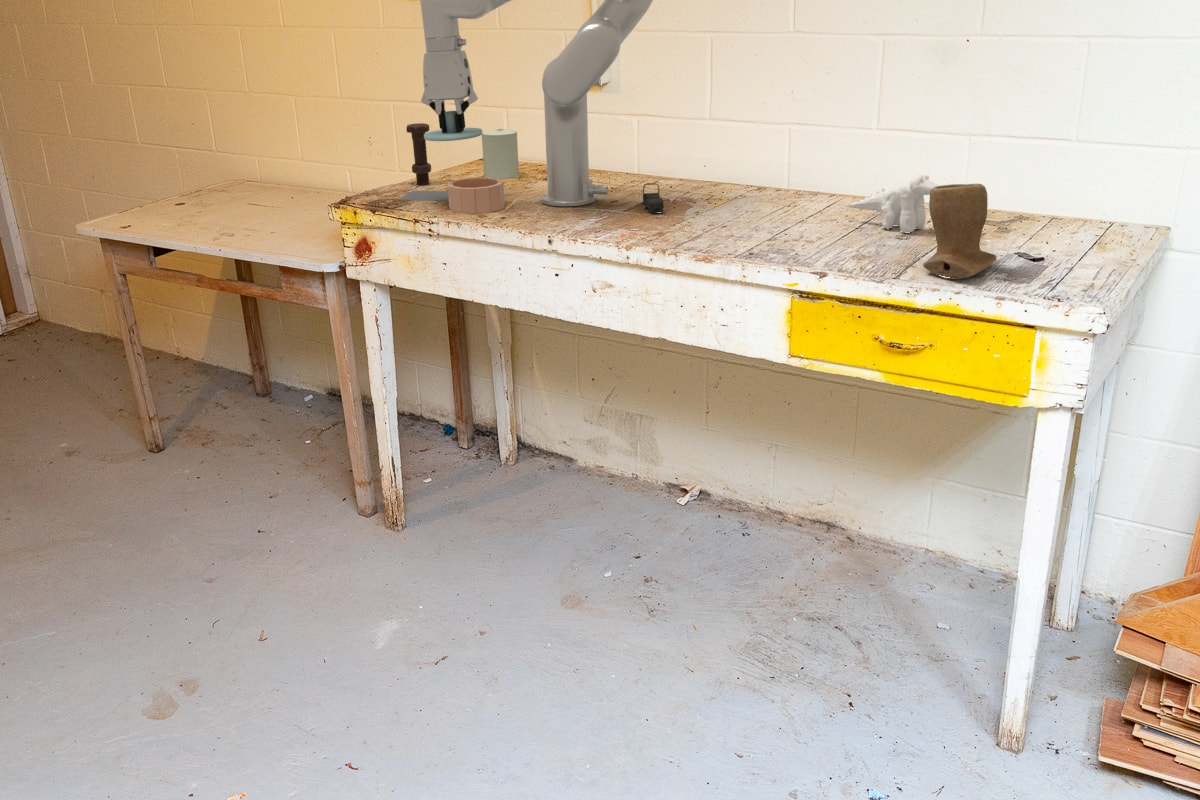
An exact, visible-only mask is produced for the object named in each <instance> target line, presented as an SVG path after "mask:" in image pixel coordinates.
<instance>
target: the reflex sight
mask: <svg viewBox="0 0 1200 800" xmlns="http://www.w3.org/2000/svg"><path fill="white" fill-rule="evenodd" d="M647 185H648V186H649V185H651V186H652V185H656V186H657V189H658V190H657V192H651V193H650V192H649V193H648V192H647V193H645V188H646V186H647ZM642 194H643V195H642V202H641V205H642V204H643V205H644V206H645V208H644V210H645V211H646V210H649V211H648V213H650V212H662V213H664V211H663V210H664V198H661V197H660V186H659V184H658V183H656V182H654V183H652V182H649V183H644V184H643V188H642ZM643 205H642V206H643ZM644 206H643V207H644Z"/></svg>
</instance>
